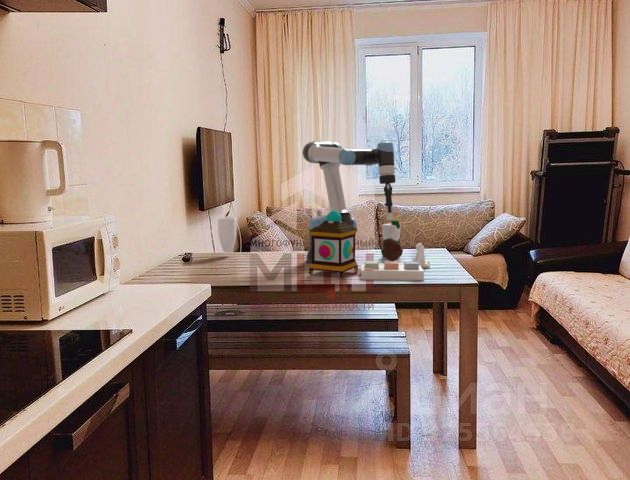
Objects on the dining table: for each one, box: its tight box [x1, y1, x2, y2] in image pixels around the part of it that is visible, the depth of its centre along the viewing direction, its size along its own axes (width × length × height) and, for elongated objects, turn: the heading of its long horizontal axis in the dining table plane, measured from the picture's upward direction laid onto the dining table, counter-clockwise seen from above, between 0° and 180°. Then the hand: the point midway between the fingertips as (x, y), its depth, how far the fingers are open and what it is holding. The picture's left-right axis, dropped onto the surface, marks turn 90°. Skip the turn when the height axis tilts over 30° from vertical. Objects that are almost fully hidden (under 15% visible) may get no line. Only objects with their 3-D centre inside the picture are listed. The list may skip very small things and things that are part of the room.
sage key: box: [364, 260, 380, 269], centre depth 260 cm, size 6×6×4 cm
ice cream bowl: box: [380, 238, 404, 261], centre depth 277 cm, size 11×11×15 cm
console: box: [360, 264, 425, 281], centre depth 259 cm, size 28×14×5 cm, turn 86°
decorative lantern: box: [308, 210, 359, 279], centre depth 264 cm, size 20×20×30 cm
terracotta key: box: [383, 260, 400, 269], centre depth 259 cm, size 6×6×4 cm
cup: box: [217, 216, 237, 253], centre depth 313 cm, size 10×10×22 cm
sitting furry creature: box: [412, 242, 431, 269], centre depth 283 cm, size 10×9×12 cm
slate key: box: [403, 260, 419, 269], centre depth 259 cm, size 6×6×4 cm
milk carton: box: [381, 220, 402, 258], centre depth 310 cm, size 9×9×20 cm
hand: (389, 219), depth 271 cm, fingers open, 13 cm apart
